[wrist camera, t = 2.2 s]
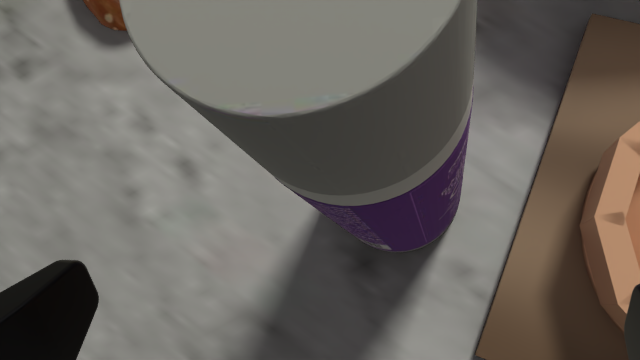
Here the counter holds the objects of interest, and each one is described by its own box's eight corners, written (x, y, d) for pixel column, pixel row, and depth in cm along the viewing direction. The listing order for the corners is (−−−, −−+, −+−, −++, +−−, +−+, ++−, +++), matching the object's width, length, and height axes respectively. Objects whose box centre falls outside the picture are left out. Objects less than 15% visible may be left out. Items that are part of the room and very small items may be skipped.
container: (478, 233, 20) (560, 44, 5) (354, 268, 20) (138, 183, 6) (438, 116, 21) (420, -287, 7) (323, 153, 22) (84, -139, 7)
